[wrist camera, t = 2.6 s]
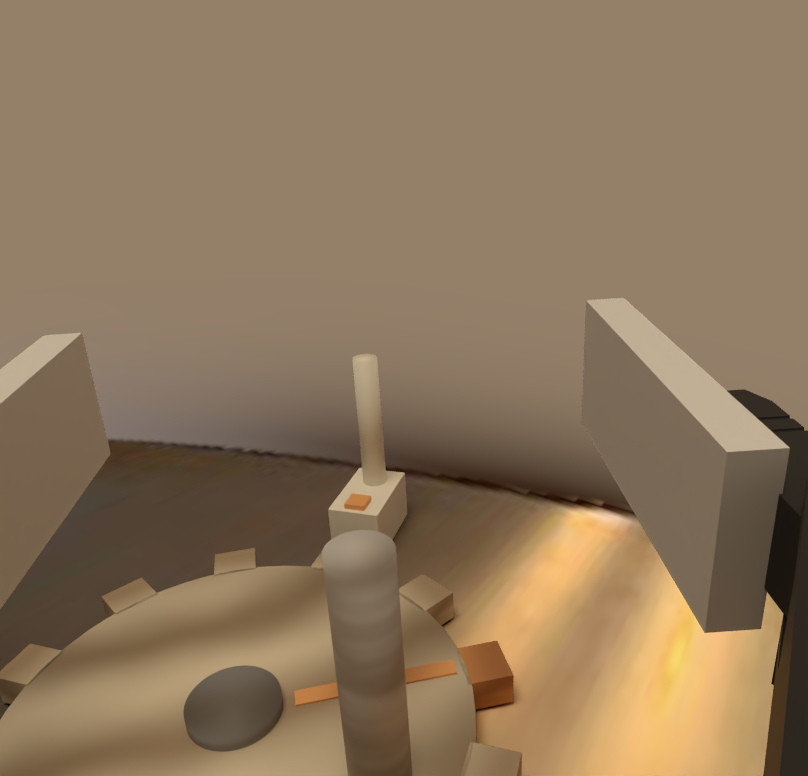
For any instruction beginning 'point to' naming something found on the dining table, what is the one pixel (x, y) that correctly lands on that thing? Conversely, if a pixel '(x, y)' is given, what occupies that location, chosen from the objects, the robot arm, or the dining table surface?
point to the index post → (369, 467)
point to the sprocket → (262, 678)
